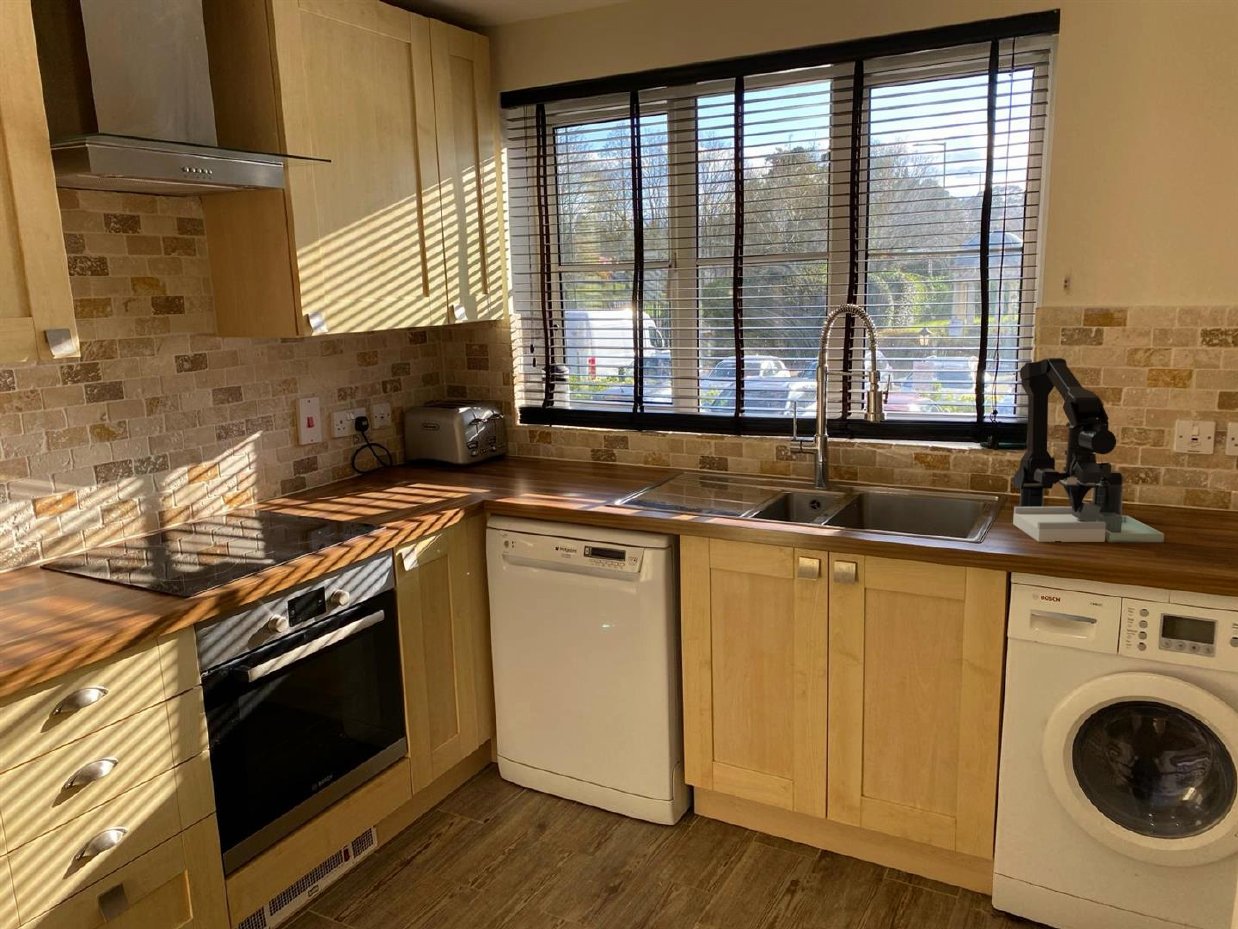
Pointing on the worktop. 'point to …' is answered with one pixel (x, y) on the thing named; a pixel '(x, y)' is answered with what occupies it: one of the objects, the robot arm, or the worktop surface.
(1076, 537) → the channel
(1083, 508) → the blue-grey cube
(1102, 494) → the supplement bottle
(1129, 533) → the tray
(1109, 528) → the gray cube
